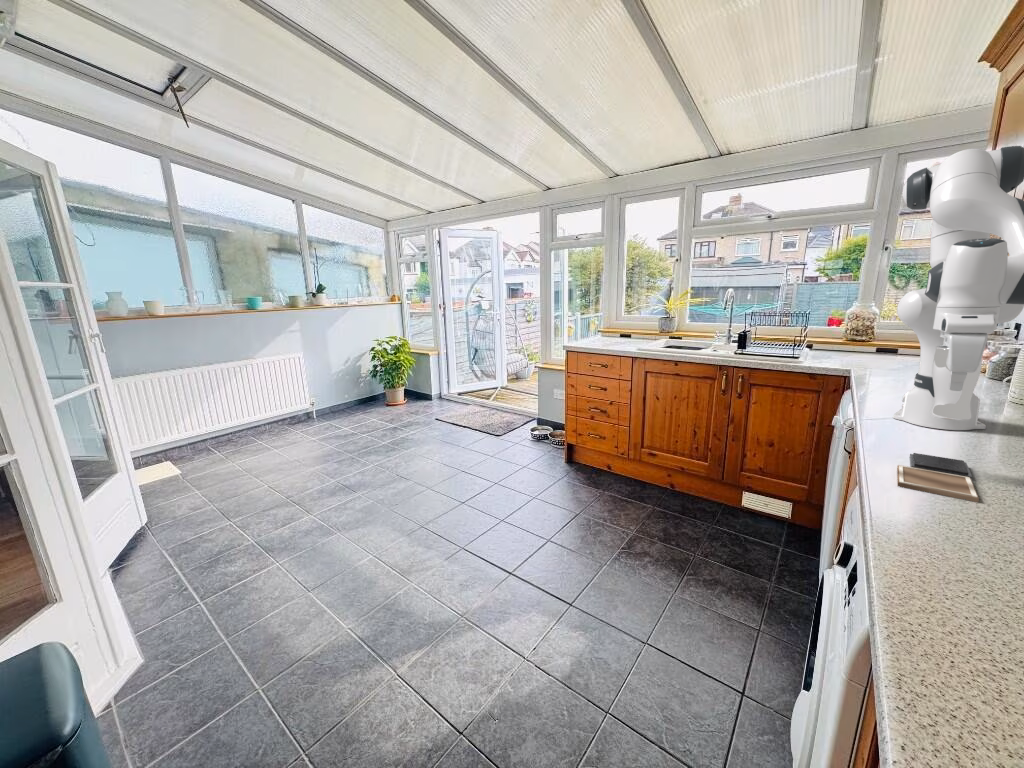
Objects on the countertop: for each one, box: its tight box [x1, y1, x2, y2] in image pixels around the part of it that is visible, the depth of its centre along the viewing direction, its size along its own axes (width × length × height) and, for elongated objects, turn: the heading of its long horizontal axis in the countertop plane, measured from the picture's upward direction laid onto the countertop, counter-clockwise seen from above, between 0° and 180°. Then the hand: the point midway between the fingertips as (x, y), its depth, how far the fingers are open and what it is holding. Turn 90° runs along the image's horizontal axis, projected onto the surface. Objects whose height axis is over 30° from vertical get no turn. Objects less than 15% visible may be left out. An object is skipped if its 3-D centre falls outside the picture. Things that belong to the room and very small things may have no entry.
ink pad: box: [909, 452, 973, 480], centre depth 91 cm, size 9×9×2 cm
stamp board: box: [896, 464, 980, 503], centre depth 84 cm, size 11×11×1 cm
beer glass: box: [930, 345, 983, 420], centre depth 87 cm, size 7×7×15 cm
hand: (953, 387), depth 87 cm, fingers closed on beer glass, 6 cm apart
